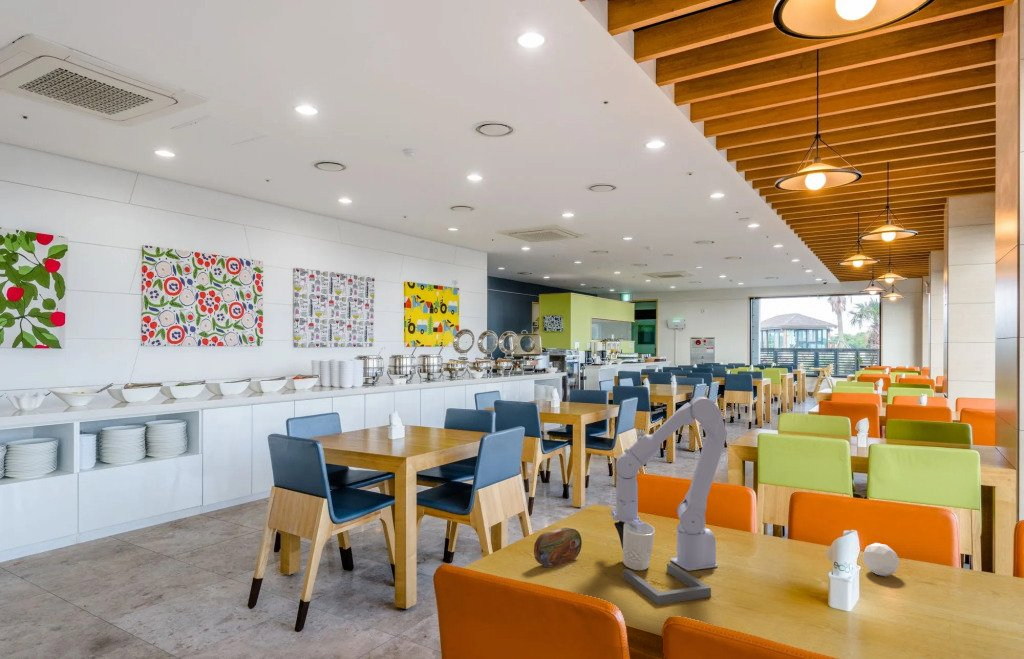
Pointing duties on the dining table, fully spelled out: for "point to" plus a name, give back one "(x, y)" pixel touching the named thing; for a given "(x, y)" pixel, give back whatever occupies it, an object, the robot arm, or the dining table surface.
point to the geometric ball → (880, 559)
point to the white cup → (637, 546)
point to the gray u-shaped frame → (693, 592)
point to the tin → (557, 547)
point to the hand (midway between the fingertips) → (626, 550)
